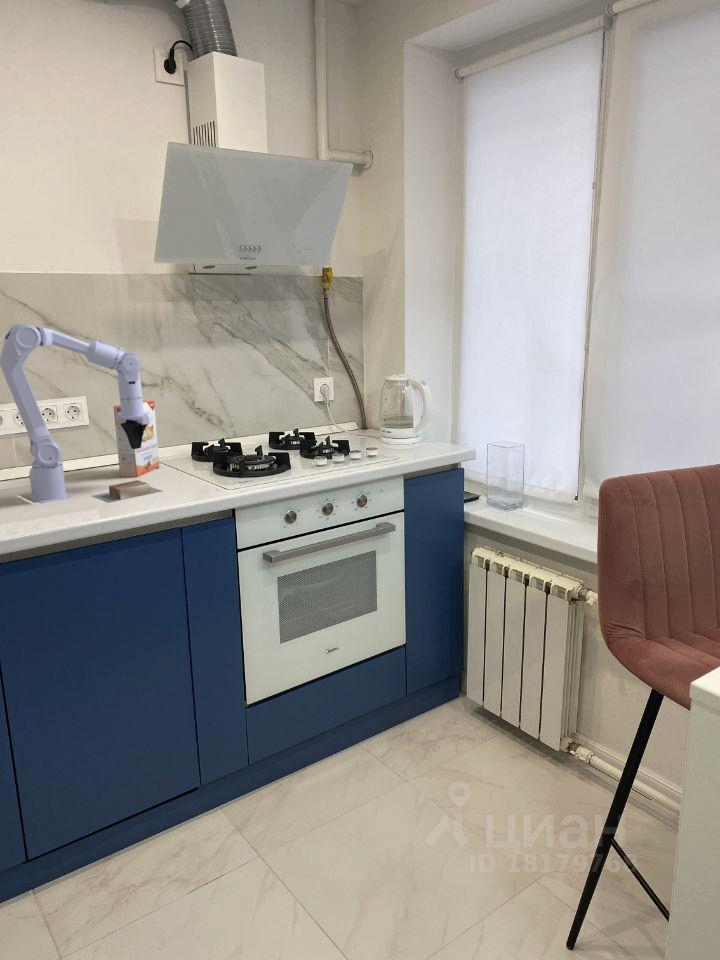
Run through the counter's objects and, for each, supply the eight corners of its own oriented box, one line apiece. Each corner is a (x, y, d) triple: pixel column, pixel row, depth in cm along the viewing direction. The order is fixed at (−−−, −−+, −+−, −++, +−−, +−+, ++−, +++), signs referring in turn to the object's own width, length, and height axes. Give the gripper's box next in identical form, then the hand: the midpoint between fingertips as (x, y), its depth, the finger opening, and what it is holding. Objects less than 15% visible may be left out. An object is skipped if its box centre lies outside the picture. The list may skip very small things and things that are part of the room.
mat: (91, 497, 186) (91, 495, 185) (145, 486, 196) (145, 485, 195) (108, 504, 178) (108, 502, 178) (163, 492, 189) (163, 491, 188)
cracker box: (138, 478, 205) (131, 405, 200) (119, 478, 207) (111, 405, 202) (161, 468, 219) (154, 399, 214) (143, 467, 220) (136, 399, 215)
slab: (108, 485, 185) (120, 489, 180) (137, 480, 190) (149, 483, 186) (109, 495, 186) (121, 499, 181) (138, 489, 191) (150, 493, 186)
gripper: (158, 398, 189) (163, 449, 192) (132, 394, 199) (137, 443, 202) (133, 401, 184) (138, 453, 187) (108, 397, 194) (113, 446, 197)
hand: (136, 448), depth 194 cm, fingers closed
